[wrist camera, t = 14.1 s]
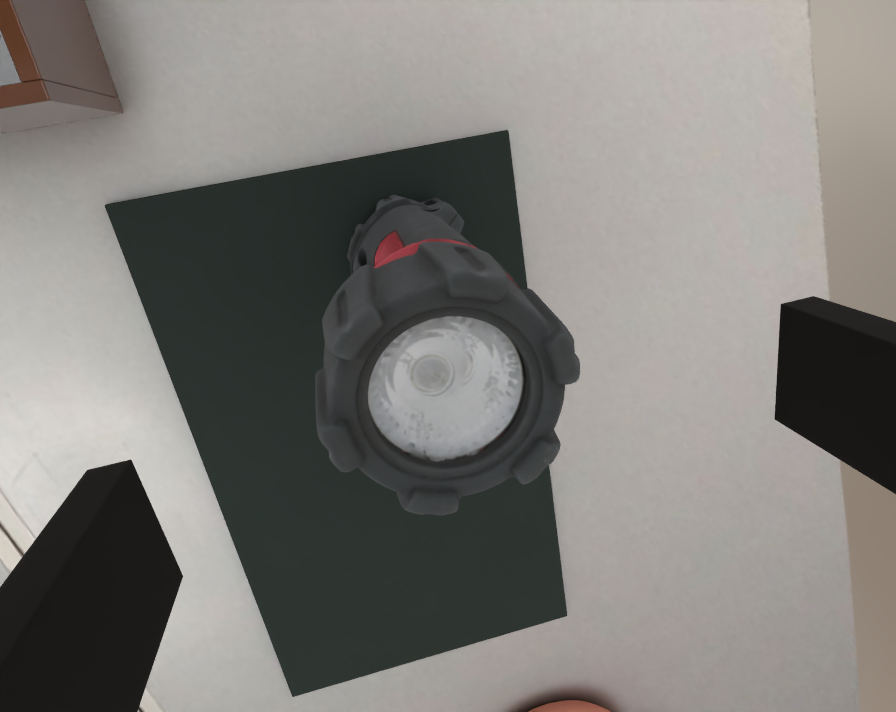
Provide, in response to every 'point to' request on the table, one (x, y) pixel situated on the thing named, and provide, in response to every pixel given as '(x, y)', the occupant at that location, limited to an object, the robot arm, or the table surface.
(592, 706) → the teapot
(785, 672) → the table surface
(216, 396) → the mat
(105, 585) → the robot arm
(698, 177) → the table surface
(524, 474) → the flashlight
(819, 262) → the table surface
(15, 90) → the brown open box
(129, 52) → the table surface
